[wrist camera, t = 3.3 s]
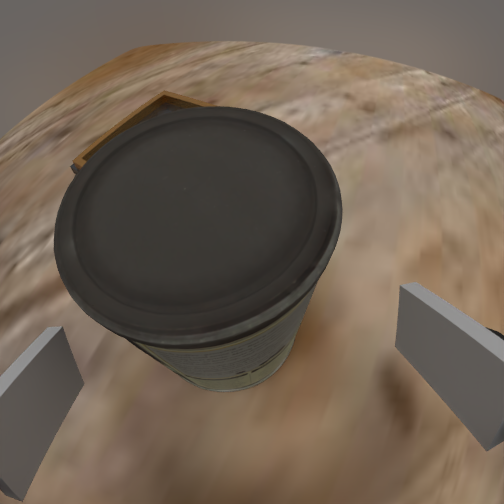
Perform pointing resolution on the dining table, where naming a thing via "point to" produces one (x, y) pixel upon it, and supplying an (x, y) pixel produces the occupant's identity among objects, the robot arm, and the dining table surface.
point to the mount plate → (139, 120)
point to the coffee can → (201, 240)
